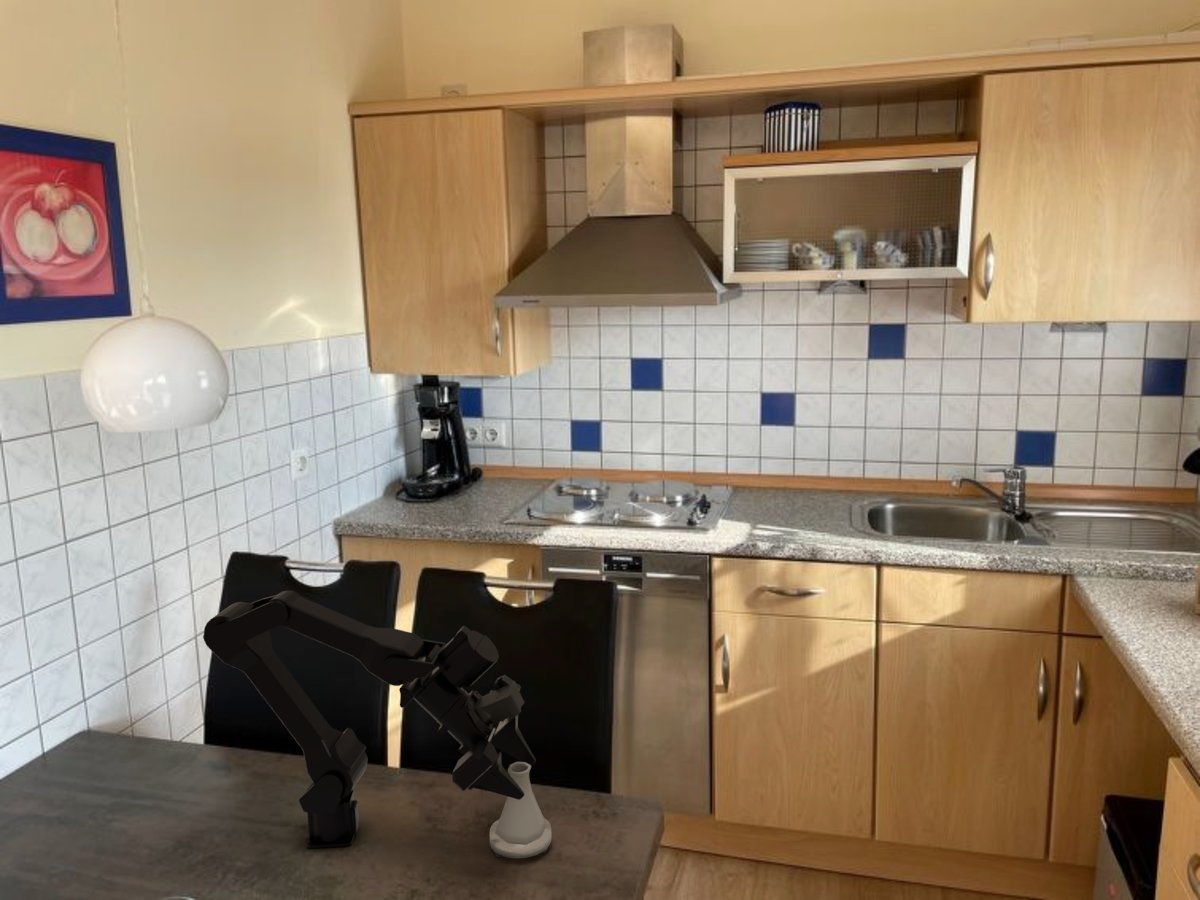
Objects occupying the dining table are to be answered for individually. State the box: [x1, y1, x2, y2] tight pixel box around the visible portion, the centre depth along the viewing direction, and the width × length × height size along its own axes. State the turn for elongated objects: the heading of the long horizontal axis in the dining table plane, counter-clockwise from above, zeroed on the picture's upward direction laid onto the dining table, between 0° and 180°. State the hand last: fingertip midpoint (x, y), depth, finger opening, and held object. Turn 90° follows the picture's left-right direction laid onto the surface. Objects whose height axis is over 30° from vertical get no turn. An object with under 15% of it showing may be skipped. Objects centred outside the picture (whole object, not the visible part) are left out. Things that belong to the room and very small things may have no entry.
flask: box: [495, 761, 546, 844], centre depth 133 cm, size 7×7×10 cm
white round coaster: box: [489, 817, 553, 859], centre depth 134 cm, size 9×9×2 cm
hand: (528, 779), depth 132 cm, fingers open, 9 cm apart
